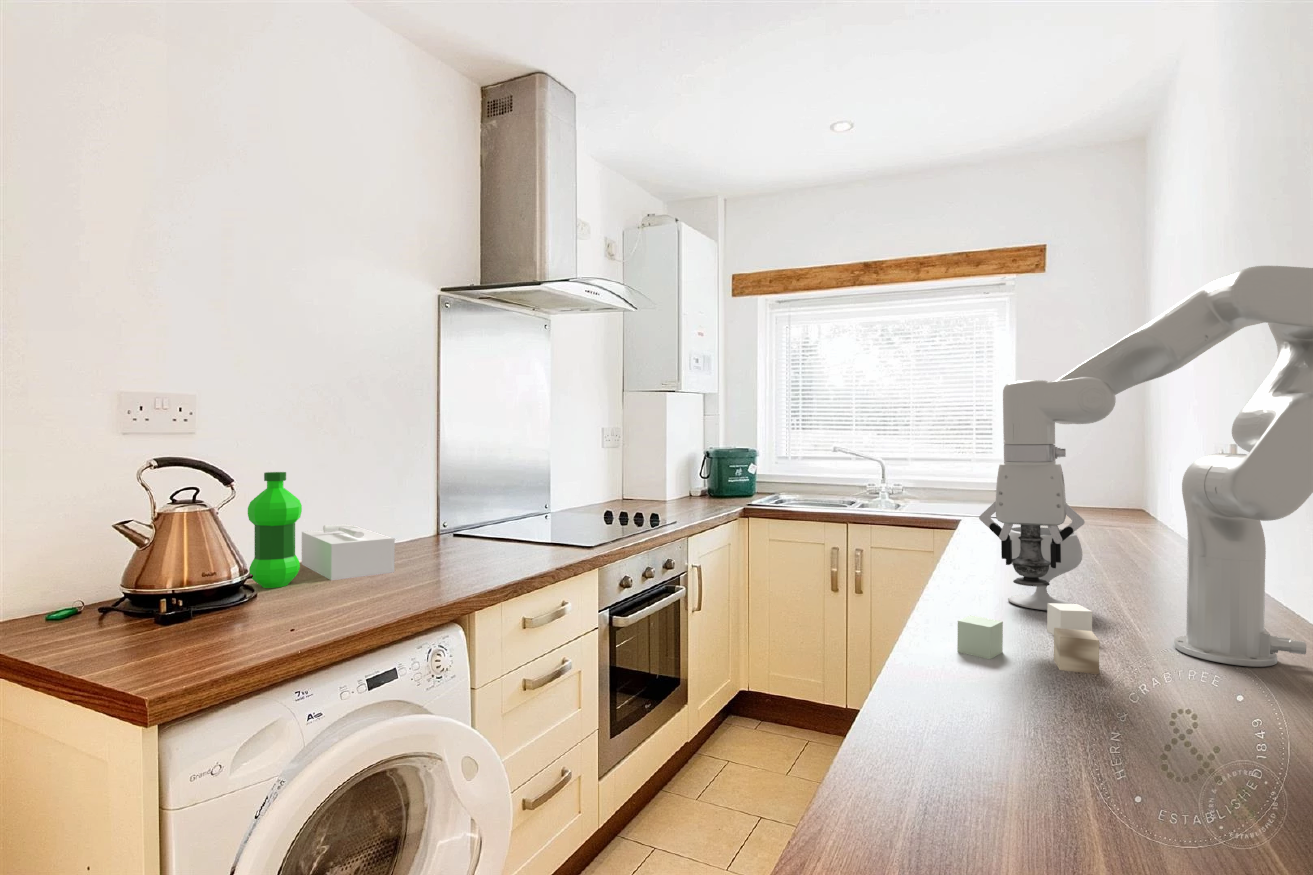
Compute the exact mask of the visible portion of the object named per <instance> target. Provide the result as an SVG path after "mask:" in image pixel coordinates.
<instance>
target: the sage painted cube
mask: <svg viewBox="0 0 1313 875" xmlns="http://www.w3.org/2000/svg"><path fill="white" fill-rule="evenodd" d="M1003 623H1004V622H1003V621H1002V620H997V619H991V618H987V617H981V616H976V615H973V614H971V615H970V614H969V615H968V616H966V617H963V618H960V619H958V620H957V645H956V646H957V648H956V649H957V653H961V654H965V655H969V656H973V657H978V658H982V659H988V660H992V659H994V658H995V657H997V656H1000V655H1001V654H1002V653H1003V649H1004V648H1003V643H1004V642H1003V638H1004V636H1003V634H1004V633H1003V629H1004V627H1003V626H1004V624H1003Z"/></svg>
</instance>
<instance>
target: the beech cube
mask: <svg viewBox="0 0 1313 875" xmlns="http://www.w3.org/2000/svg"><path fill="white" fill-rule="evenodd" d="M1053 661H1054V663H1055V665H1056V666H1057V668H1058V670H1059V671H1065V672H1075V673H1083V672H1084V673H1085V674H1092V675H1100V639H1099V638H1098V637H1097V636H1096V634H1095V633H1094V632H1093V630H1092V631H1085V630H1074V629H1063V628H1054V635H1053Z"/></svg>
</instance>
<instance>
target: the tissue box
mask: <svg viewBox="0 0 1313 875" xmlns="http://www.w3.org/2000/svg"><path fill="white" fill-rule="evenodd" d="M395 540H396V538H395V537H392V536H389V535H386V534H382V533H379V532H377V531H374V530H370V529H367V528H364V527H360V526H358V525H353V524H347V523H344V524H343V523H342V524H326V525H323V526H322V529H321V530H307V531H301V565H302V566H304V567H306V568H308V569H309V570H311V571H313V572H314V573H317V574H319V575H321V577H324V578H326V579H328V580H330V581H337V580H346V579H352V578H353V579H354V578H360V577H369V576H375V575H376V576H377V575H384V574H392V573H395Z"/></svg>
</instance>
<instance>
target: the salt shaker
mask: <svg viewBox="0 0 1313 875" xmlns="http://www.w3.org/2000/svg"><path fill="white" fill-rule="evenodd" d="M1020 527H1021V536H1020V537H1018V538H1019V539H1020V554H1019V556H1018V557H1017V558H1015V559H1012V560H1011V562H1013V565H1012V567H1013V569H1014V571H1015V572H1016V574H1017V575H1019V576H1021V577H1016V578H1015V579H1013V581H1012V582H1013V583H1014V584H1016V585H1020V586H1026V587H1036V588H1037V587H1041V586H1047V587H1048V586H1050V582H1049V583H1048V582H1047V581H1046V580H1043V579H1039V577H1043V576H1045V575H1046V574H1047V572H1048V570H1049V565H1051V562H1050V561H1047V560H1045V559H1044V558H1043V556H1042V552H1041V541H1042V540H1043V538H1041V537H1040V528H1041V525H1020Z"/></svg>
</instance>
